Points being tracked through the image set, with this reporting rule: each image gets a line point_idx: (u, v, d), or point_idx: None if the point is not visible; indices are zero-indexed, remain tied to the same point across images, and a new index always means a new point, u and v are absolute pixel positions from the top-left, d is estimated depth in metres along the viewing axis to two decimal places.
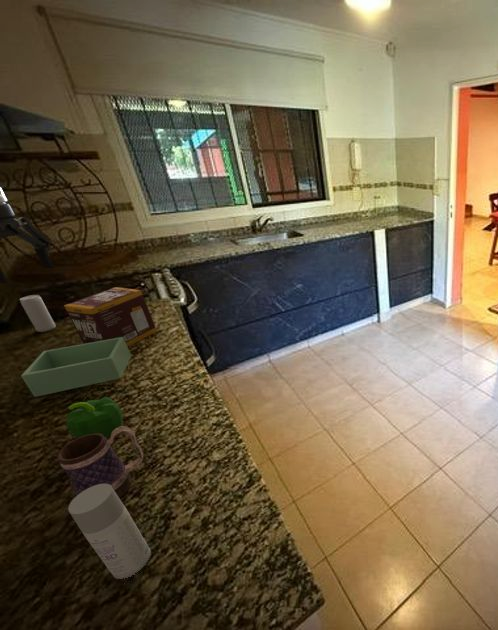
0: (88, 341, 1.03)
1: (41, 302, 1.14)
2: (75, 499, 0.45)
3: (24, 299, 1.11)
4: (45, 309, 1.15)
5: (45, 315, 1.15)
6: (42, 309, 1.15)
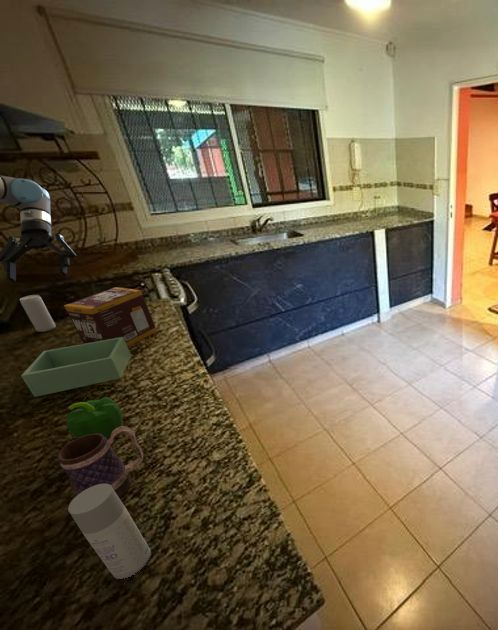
0: (88, 341, 1.03)
1: (41, 302, 1.14)
2: (75, 499, 0.45)
3: (24, 299, 1.11)
4: (45, 309, 1.15)
5: (45, 315, 1.15)
6: (42, 309, 1.15)
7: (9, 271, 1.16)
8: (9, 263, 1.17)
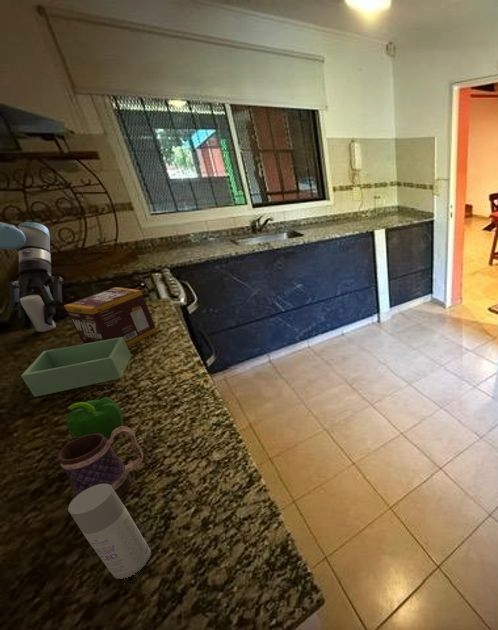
0: (88, 341, 1.03)
1: (41, 302, 1.14)
2: (75, 499, 0.45)
3: (24, 299, 1.11)
4: None
5: None
6: (42, 309, 1.15)
7: (24, 319, 1.12)
8: (23, 310, 1.13)
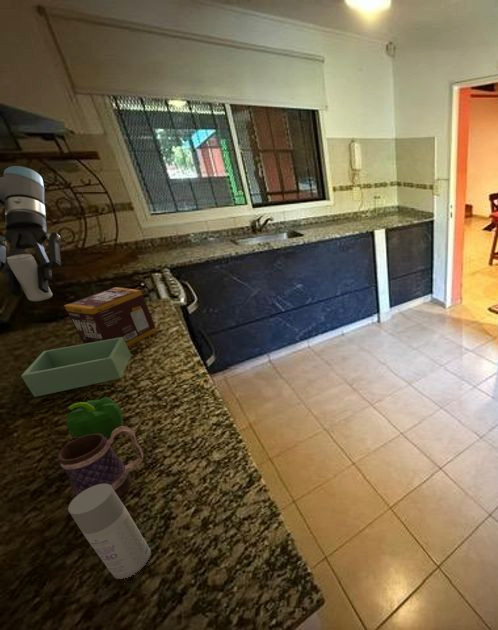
0: (88, 341, 1.03)
1: (34, 263, 0.91)
2: (75, 499, 0.45)
3: (12, 258, 0.88)
4: None
5: None
6: (36, 272, 0.91)
7: (12, 283, 0.89)
8: (12, 272, 0.89)
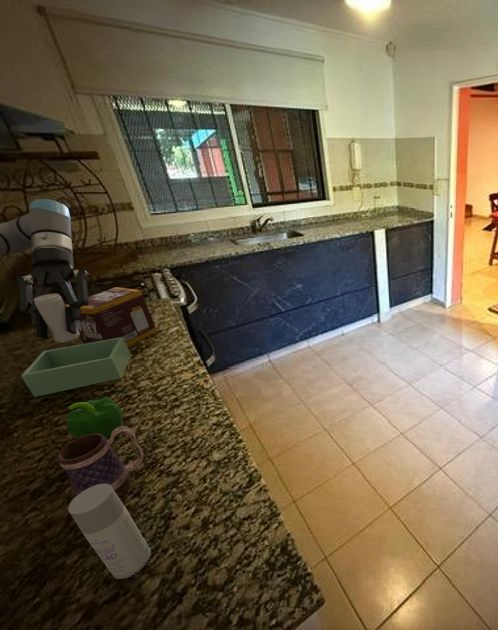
0: (88, 341, 1.03)
1: (62, 303, 0.86)
2: (75, 499, 0.45)
3: (40, 299, 0.83)
4: None
5: None
6: (64, 313, 0.86)
7: (39, 325, 0.84)
8: (39, 314, 0.85)
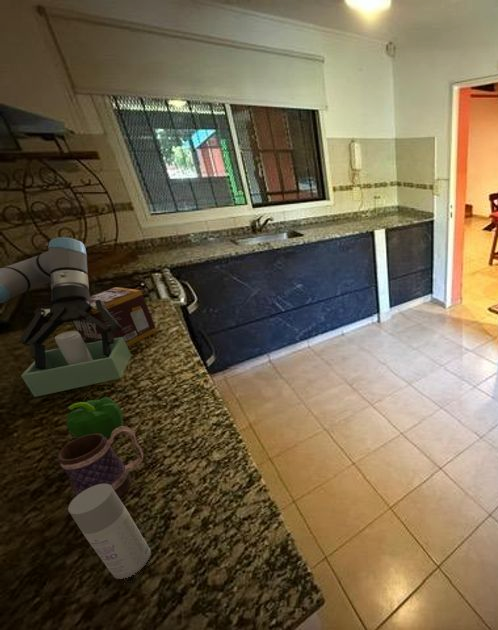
0: (88, 341, 1.03)
1: (81, 340, 0.91)
2: (75, 499, 0.45)
3: (60, 338, 0.88)
4: (85, 348, 0.92)
5: (85, 356, 0.92)
6: (82, 349, 0.91)
7: (37, 357, 0.87)
8: (37, 346, 0.88)
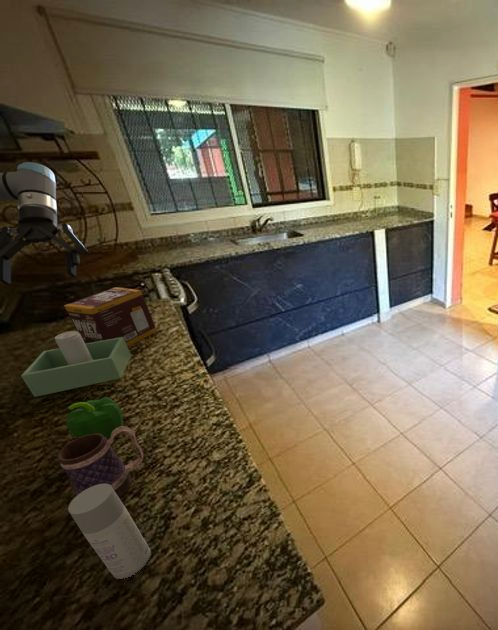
0: (88, 341, 1.03)
1: (81, 340, 0.91)
2: (75, 499, 0.45)
3: (60, 338, 0.88)
4: (85, 348, 0.92)
5: (85, 356, 0.92)
6: (82, 349, 0.91)
7: (2, 271, 0.89)
8: (2, 261, 0.90)
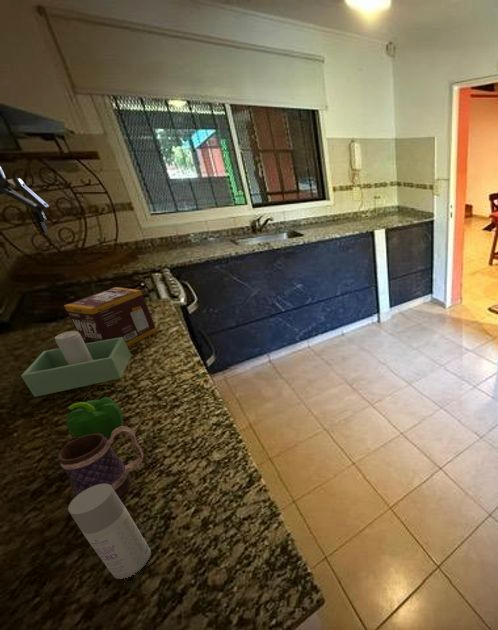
0: (88, 341, 1.03)
1: (81, 340, 0.91)
2: (75, 499, 0.45)
3: (60, 338, 0.88)
4: (85, 348, 0.92)
5: (85, 356, 0.92)
6: (82, 349, 0.91)
7: None
8: None
